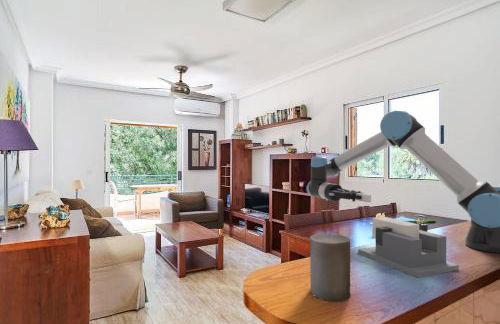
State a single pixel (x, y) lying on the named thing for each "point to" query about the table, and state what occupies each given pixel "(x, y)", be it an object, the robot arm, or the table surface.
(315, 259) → the pillar candle
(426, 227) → the cup
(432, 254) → the guide
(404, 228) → the peg
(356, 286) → the table surface
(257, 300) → the table surface
